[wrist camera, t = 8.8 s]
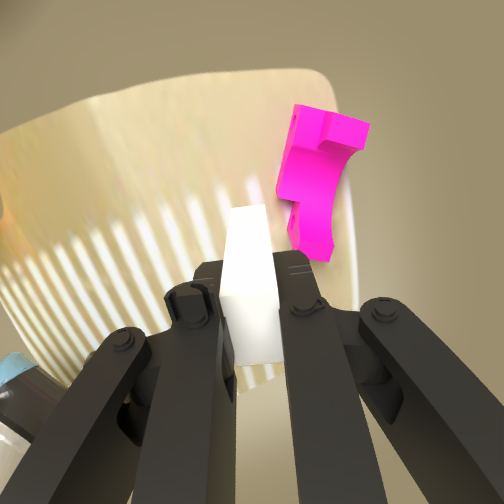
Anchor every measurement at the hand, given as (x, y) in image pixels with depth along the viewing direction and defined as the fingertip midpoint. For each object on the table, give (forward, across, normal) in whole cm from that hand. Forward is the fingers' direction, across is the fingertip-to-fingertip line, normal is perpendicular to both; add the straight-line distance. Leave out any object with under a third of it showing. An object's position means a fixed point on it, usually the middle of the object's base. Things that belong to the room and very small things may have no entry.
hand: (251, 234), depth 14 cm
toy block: (+23, +6, -3) cm, 24 cm away
